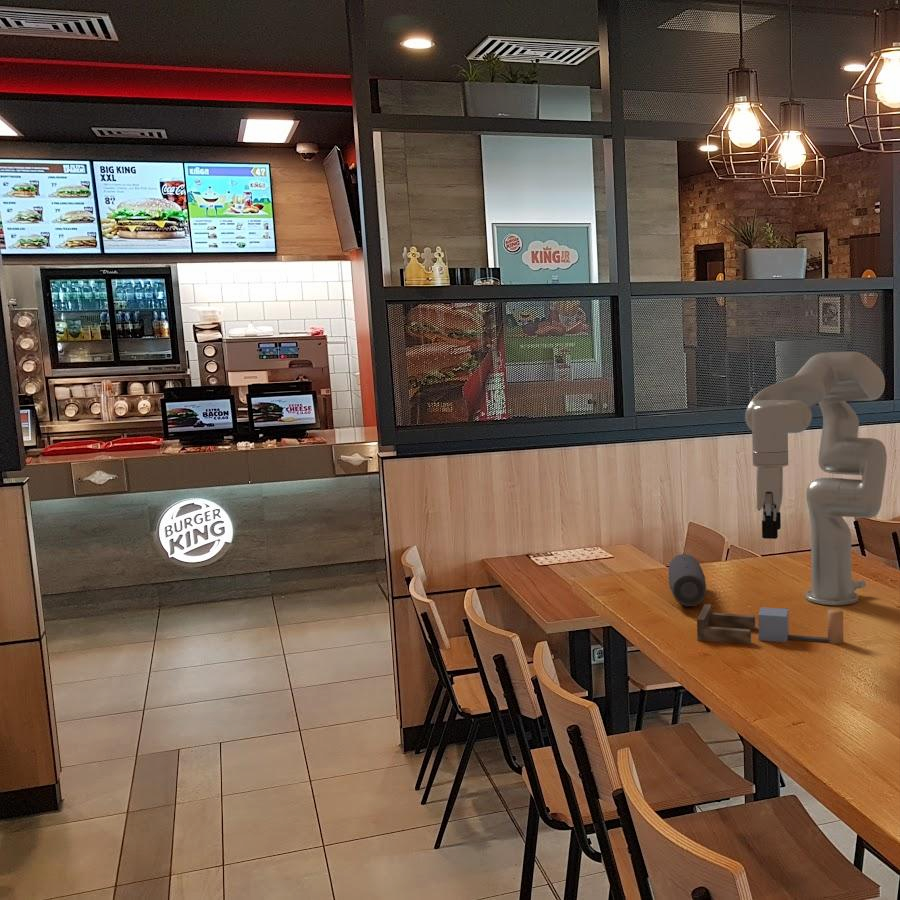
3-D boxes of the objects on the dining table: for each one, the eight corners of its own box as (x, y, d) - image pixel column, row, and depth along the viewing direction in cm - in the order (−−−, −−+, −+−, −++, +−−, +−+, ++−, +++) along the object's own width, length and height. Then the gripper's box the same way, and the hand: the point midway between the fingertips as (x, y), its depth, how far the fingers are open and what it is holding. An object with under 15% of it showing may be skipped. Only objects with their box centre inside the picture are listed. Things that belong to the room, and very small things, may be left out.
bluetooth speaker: (709, 611, 226) (708, 572, 224) (671, 611, 227) (670, 573, 226) (702, 586, 248) (701, 551, 247) (667, 586, 250) (666, 552, 248)
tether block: (843, 638, 200) (843, 608, 200) (843, 646, 195) (843, 616, 194) (761, 632, 208) (760, 603, 207) (758, 640, 202) (758, 610, 201)
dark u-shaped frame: (755, 627, 211) (755, 607, 210) (750, 644, 200) (749, 623, 199) (705, 624, 216) (704, 604, 215) (697, 640, 205) (696, 619, 204)
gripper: (756, 453, 208) (757, 525, 210) (748, 464, 193) (750, 541, 194) (790, 453, 205) (791, 526, 207) (785, 464, 189) (786, 542, 191)
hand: (771, 533), depth 201 cm, fingers open, 9 cm apart
